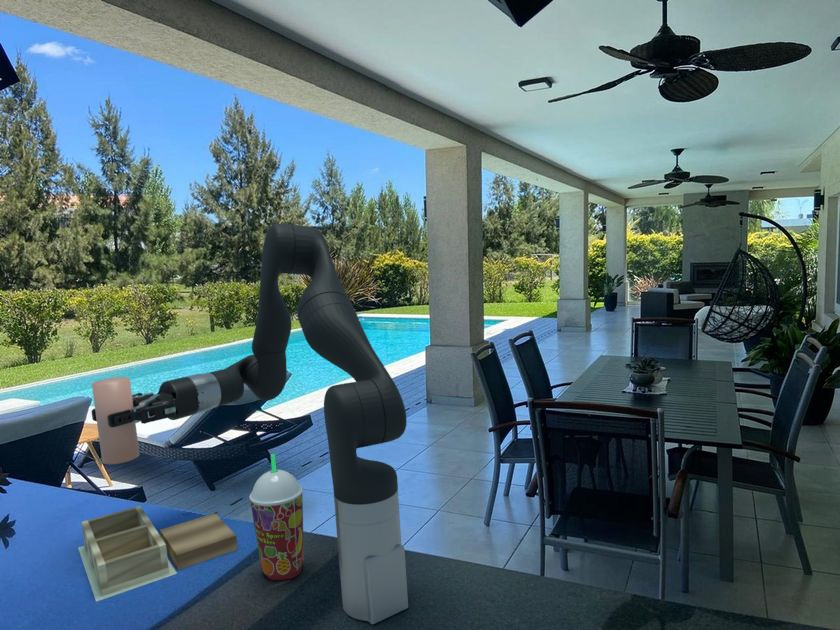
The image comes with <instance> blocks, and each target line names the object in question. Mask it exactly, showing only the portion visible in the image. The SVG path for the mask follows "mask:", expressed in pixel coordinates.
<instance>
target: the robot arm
mask: <svg viewBox="0 0 840 630" xmlns="http://www.w3.org/2000/svg"><path fill="white" fill-rule="evenodd" d="M264 236H265V237H264V241H263V247H262V254H261V255H262V256H261V264H260V265H261V267H260V268H261V269H260V281H259V282H260V283H259V294H258V295H259V297H258V298H259V299H258V300H259V301H258V312H257V320H256V324H255V329H254V332H253V336H252V343H251V351H252V354H250V355H247V356H245V357H243V358H241V359H240V360H237V362H234V363H232V364H231V365H230V366H229V365H228V366H227V367H226V368H223V369H218V370H215V371H211V372H205V373H196V374H192V375H188V376H182V377H178V378H174V379H170V380H166V381H163V382H162V383H161V384H160V386H159V389H158V392H157V393H156V394H154V393H153V392H147V393H141V392H138V393H135V394H134V393H133V394H132V400H133V408H132V409H131V410H132V411H131V410H129V409H128V410H125V411H121V412H117V413H113V414H109V415H108V417H107V419H108V425H109V426H110V427H116V426H120V425H124V424H127V423H131V422H132V421H133V423H136V424H138V423H140V424H144V425H145V424H148V423H152V422H156V421H161V420H164V419H169V420H170V421H177V420H179V419H180V420H181V419H183V418H187V417H190V416H194V415H198V414H201V413H204V412H208V411H210V410H212V409H214V408H218V407H220V406H224V405H228V404H231V403H235V402H237V401H238V400H241V398H242V397H243V396H244V392H245V385H246V386H247V388H248V389H249V390H250V391H251V392H252V393H253V395H255V396H256V398H258V399H259V400H262V401H265V402H266V401H272V400H275V398H278V396H279V395H280V394H281V393H282V392H283V390H284V389H285V386H286V383H287V371H288V370H287V355H286V352H287V351H286V350H287V347H288V344H289V339H290V336H291V331H292V319H291V318H292V317H291V313H290V311H289V309H288V307H287V305H286V303H285V301H284V299H283V296H282V294H281V291H280V287H279V276H280V274H288V275H289V274H290V275H303V276H307V277H309V278H310V280H311V281H309V283H308V285H307V287H306V288H305V289H304V290H303V293H302V294H301V296H300V298H299V301H298V303H297V309H296V313H297V314H296V315H297V319H298V322H299V326H300V327H301V330H302V333H303V336H304V338H305V341H306V343H307V344H308V346H309V347H310V348H311V349H312V350H313V351H314V352H315V353H316V354H317V355H319V356H320V357H321V358H323V359H324V360H326V361H328V362H329V363H331V364H333V366H335V367H337V368H339V369H340V370H343V371H344V372H345V373H346V374H348V375H349V376H350V377H351V378H353V380H354V381H353V382H345V383H339V384H335V385H331V386H330V387H328V388H327V390H326V392H325V394H324V396H323V397H324V399H323V411H324V412H323V414H324V422H325V423H324V424H325V429H326V439H327V444H328V451H329V462H330V473H331V479H332V486H333V488H332V489H333V490H332V491H333V499H334V513H335V514H334V515H335V526H336V539H337V551H338V565H339V576H340V577H339V579H340V587H341V598H342V600H341V601H342V608H343V611H344V612H345V614H347V616H350V617H351V618H352V619H356V620H359V621H363V622H364V621H366V622H368V623H369V624H371V625H374V624H377V623H380V622H382V621H383V620H386V619H387V618H389V617H392V616H394V615H396V614H398V613H401V612H402V611H404V610H406V609H408V608H409V601H408V599H409V598H408V597H409V596H408V583H407V570H406V569H407V566H406V554H405V552H406V551H405V550H406V549H405V547H404V546H403V544H402V532H401V531H402V530H401V519H400V518H401V517H400V516H401V515H400V501H399V500H400V499H399V485H398V484H399V483H398V474H397V472H396V470H395V468H394V467H393V466H391V465H390V464H389V463H386V462H382V461H378V460H373V459H366V458H363V457H359V456H358V455H357V449H360V448H365V447H366V448H367V447H371V446H376V445H380V444H385V443H388V442H392V441H395V440H398V439H399V438H401V437H402V436H403V434H405V432H406V429H407V411H406V407H405V403H404V401H403V397H402V396H401V393H400V390H399V388H398V387H397V385H396V383H395V381H394V380H393V378H392V376H391V375H390V374H389V371H388V370H387V368H386V367H385V365H384V364H383V363H382V360H381V358H379V356H378V354H377V352H376V351H375V350H374V348H373V346H372V344H371V342H370V340H369V339H368V337H367V334H366V332H365V330H364V328H363V326H362V324H361V322H360V318H359V317H358V314H357V312H356V310H355V307H354V306H353V304H352V302H351V300H350V298H349V296H348V295H347V292H346V291H345V289H344V286H343V284H342V282H341V279H340V278H339V276H338V273H337V271H336V268H335V264H334V262H333V259H332V255H331V252H330V250H329V246H328V243H327V240H326V238H325V236H324V234H323V233H322V232H321V231H320V230H319V229H318V228H315V227H312V226H308V225H299V224H290V223H288V224H287V223H273V224H272V225H270V226H269V227H268V229H267V230H266V233H265V235H264ZM244 384H245V385H244ZM91 417H92V420H93V421H94V422H97V420H96V412H95V408H93V409H92V410H91Z"/></svg>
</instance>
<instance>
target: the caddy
mask: <svg viewBox="0 0 840 630" xmlns="http://www.w3.org/2000/svg"><path fill="white" fill-rule="evenodd" d="M148 516H149V515H148V514H146V512H145V510H144V509H143V507H142V505H137V506H133V507H130V508H126V509H123V510H119V511H116V512H112V513H108V514H105V515H102V516H98V517H93V518H91V519H86V520H83V521H81V528H82V529H81V530H82V535H83V536H82V537H83V546H85V550H86V552H87V555H88V558H89V561H90V563H91V566H92V569H93V572H94V574H95V577H96V580H97V583H98V586H99V588H100V591H101V594H102V596H104V595H107V594H110V593H113V592H116V591H119V590H122V589H125V588H127V587H130V586H133V585H136V584H139V583H142V582H145V581H148V580H151V579H154V578H157V577H159V576H162V575H165V574H168V573H169V566H168V560H169V559H168V553H167V549H166V544H165V542H164V541H163V539H162V538H161V534H160V532H158V530H157V529H156V527H155V525H154V524H153V522H152V521H151V520H150V518H149V517H148Z"/></svg>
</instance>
